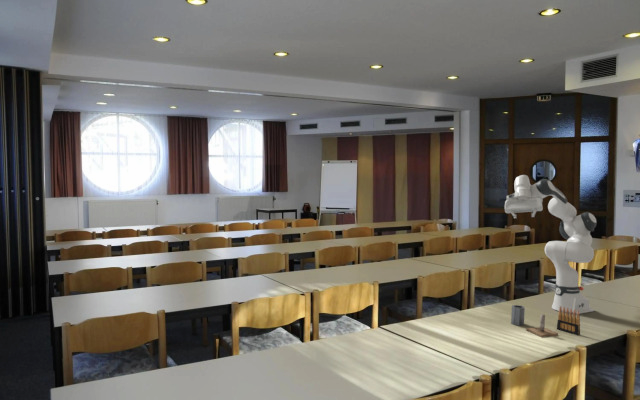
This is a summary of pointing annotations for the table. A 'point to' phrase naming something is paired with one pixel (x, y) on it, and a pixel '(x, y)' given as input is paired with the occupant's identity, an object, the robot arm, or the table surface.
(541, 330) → the stand
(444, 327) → the table surface
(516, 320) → the grey octagonal tube
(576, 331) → the ammunition clip
